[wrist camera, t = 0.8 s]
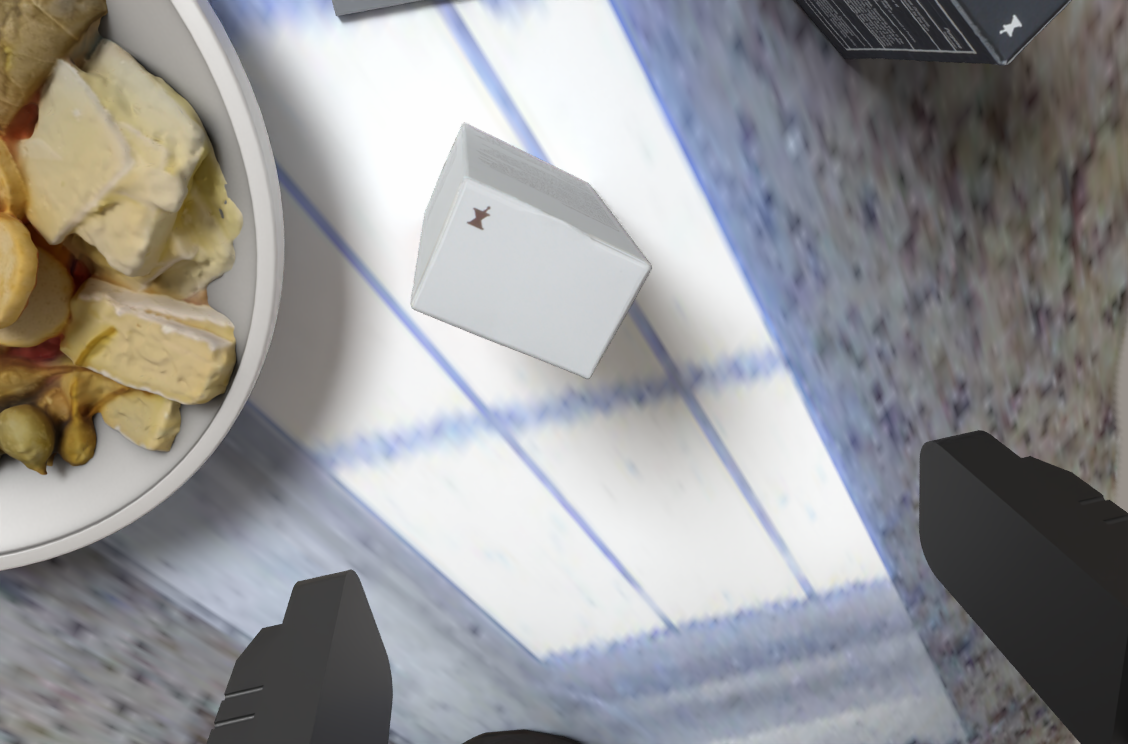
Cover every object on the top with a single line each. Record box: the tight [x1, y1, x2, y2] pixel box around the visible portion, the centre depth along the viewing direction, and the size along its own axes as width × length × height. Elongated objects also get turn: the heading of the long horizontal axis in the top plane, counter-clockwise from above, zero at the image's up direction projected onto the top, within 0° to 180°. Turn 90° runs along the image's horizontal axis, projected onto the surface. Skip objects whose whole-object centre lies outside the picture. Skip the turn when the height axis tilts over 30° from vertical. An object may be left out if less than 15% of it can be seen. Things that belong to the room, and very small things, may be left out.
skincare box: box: [411, 123, 652, 379], centre depth 28 cm, size 6×4×12 cm
